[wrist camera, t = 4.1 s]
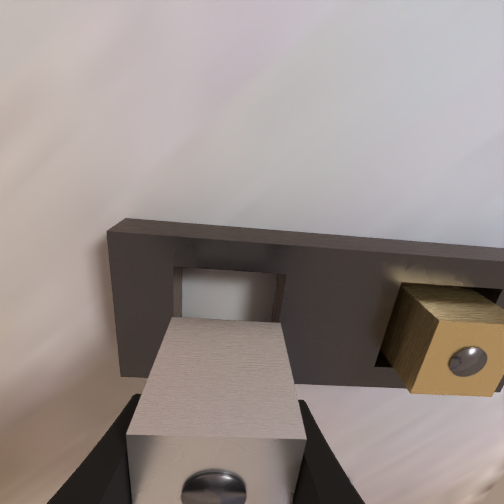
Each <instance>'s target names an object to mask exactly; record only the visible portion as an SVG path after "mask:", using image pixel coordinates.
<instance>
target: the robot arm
mask: <svg viewBox="0 0 504 504" xmlns="http://www.w3.org/2000/svg"><path fill="white" fill-rule="evenodd" d="M141 395H142V394H135V395H134V396H132V398H131V399H130V401H129V402H128V404H127V405H126V407H125V408H124V409H123V411H122V412H121V414H120V415H119V416H118V418H117V419H116V420H115V422H114V423H113V424H112V426H111V427H110V428H109V430H108V431H107V432H106V434H105V435H104V436H103V437H102V439H101V440H100V441H99V442H98V444H97V445H96V446H95V447H94V449H93V450H92V451H91V452H90V454H89V455H88V456H87V457H86V459H85V460H84V461H83V462H82V463H81V465H80V466H79V467H78V468H77V469H76V471H75V472H74V473H73V474H72V475H71V476H70V477H69V479H68V480H67V481H66V482H65V483H64V484H63V486H62V487H61V488H60V489H59V490H58V491H57V493H56V494H55V495H54V496H53V497H52V498H51V499H50V500H49V501H48V503H47V504H132V495H131V484H130V473H129V462H128V452H127V441H126V433H127V430H128V428H129V425H130V423H131V420H132V418H133V415H134V413H135V410H136V407H137V405H138V402H139V400H140V397H141ZM298 402H299V407H300V411H301V416H302V420H303V425H304V429H305V433H306V438H307V441H306V445H305V449H304V454H303V458H302V462H301V466H300V471H299V475H298V479H297V483H296V488H295V492H294V496H293V500H292V504H365V503H364V501H363V500H362V498H361V497H360V495H359V494H358V492H357V491H356V489H355V488H354V486H353V484H352V482H351V481H350V480H349V478H348V477H347V475H346V474H345V472H344V470H343V469H342V467H341V465H340V464H339V462H338V460H337V459H336V457H335V455H334V454H333V452H332V450H331V449H330V447H329V445H328V444H327V442H326V440H325V438H324V436H323V435H322V433H321V431H320V429H319V427H318V425H317V424H316V422H315V420H314V418H313V416H312V414H311V412H310V410H309V408H308V406H307V404H306V402H305V401H304V400H298Z"/></svg>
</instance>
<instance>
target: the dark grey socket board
mask: <svg viewBox="0 0 504 504" xmlns="http://www.w3.org/2000/svg"><path fill="white" fill-rule="evenodd" d="M107 240H108V251H109V261H110V271H111V282H112V292H113V302H114V313H115V323H116V333H117V343H118V354H119V364H120V374H121V377H142V378H148V377H149V374H150V372H151V369H152V367H153V364H154V362H155V359H156V357H157V354H158V351H159V349H160V346H161V344H162V341H163V339H164V336H165V334H166V331H167V329H168V326H169V323H170V321H171V318H172V317H182V267H190V268H205V269H219V270H234V271H248V272H263V273H277V274H278V278H277V285H276V292H275V299H274V306H273V313H272V320H271V322H272V323H281V327H282V332H283V336H284V340H285V345H286V349H287V354H288V358H289V363H290V367H291V371H292V376H293V380H294V384H312V385H337V386H361V387H385V388H406V386H405V385H404V383H403V382H402V380H401V379H400V377H399V376H398V374H397V373H396V371H395V370H394V368H393V367H392V365H391V364H390V362H389V361H388V359H387V358H386V356H385V355H384V353H383V352H382V350H381V349H380V347H381V344H382V341H383V338H384V335H385V332H386V328H387V325H388V322H389V319H390V316H391V313H392V310H393V307H394V304H395V300H396V297H397V294H398V291H399V288H400V285H401V282H408V283H422V284H437V285H451V286H466V287H470V288H471V289H473V290H474V291H476V292H477V293H479V294H480V295H482V296H484V297H485V298H487V299H488V300H490V301H491V302H493V303H495V304H496V305H498V306H499V307H501V308H502V309H504V248H492V247H480V246H467V245H454V244H442V243H429V242H417V241H404V240H392V239H379V238H367V237H354V236H342V235H329V234H317V233H304V232H292V231H279V230H267V229H254V228H242V227H229V226H217V225H204V224H191V223H179V222H166V221H154V220H141V219H129V218H125V219H124V220H122V221H121V222H119V223H118V224H116V225H115V226H113V227H112V228H110V229H109V230H108V231H107ZM503 386H504V375H503V377H502V379H501V380H500V382H499V384H498V386H497V388H496V390H495V391H494V392H500V391H501V389H502V387H503Z"/></svg>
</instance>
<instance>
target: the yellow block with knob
mask: <svg viewBox="0 0 504 504" xmlns="http://www.w3.org/2000/svg"><path fill="white" fill-rule="evenodd" d="M380 349H381V350H382V352H383V353H384V355H385V356H386V358H387V359H388V361H389V362H390V364H391V365H392V367H393V368H394V370H395V371H396V373H397V374H398V376H399V377H400V379H401V380H402V382H403V383H404V385H405V386H406V388H407V389H408V391H409V392H410V394H435V395H460V396H485V397H492V395H493V393H494V391H495V390H496V388H497V386H498V384H499V382H500V380H501V379H502V377H503V375H504V309H502V308H501V307H499V306H498V305H496V304H495V303H493V302H491V301H490V300H488V299H487V298H485V297H484V296H482V295H480V294H479V293H477V292H476V291H474V290H473V289H471V288H470V287H466V286H451V285H437V284H422V283H408V282H401V285H400V288H399V291H398V294H397V297H396V300H395V304H394V307H393V310H392V313H391V316H390V319H389V322H388V325H387V328H386V332H385V335H384V338H383V341H382V344H381V347H380Z"/></svg>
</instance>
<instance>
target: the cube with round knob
mask: <svg viewBox="0 0 504 504" xmlns="http://www.w3.org/2000/svg"><path fill="white" fill-rule="evenodd" d="M126 441H127V452H128V462H129V473H130V484H131V495H132V504H292V500H293V496H294V492H295V488H296V483H297V479H298V475H299V471H300V466H301V462H302V458H303V454H304V449H305V445H306V441H307V438H306V433H305V429H304V425H303V420H302V416H301V411H300V407H299V402H298V398H297V394H296V389H295V385H294V380H293V376H292V371H291V367H290V363H289V358H288V354H287V349H286V345H285V340H284V336H283V332H282V327H281V323H272V322H255V321H237V320H219V319H201V318H183V317H172V318H171V321H170V323H169V326H168V329H167V331H166V334H165V336H164V339H163V341H162V344H161V346H160V349H159V351H158V354H157V357H156V359H155V362H154V364H153V367H152V369H151V372H150V374H149V377H148V379H147V382H146V385H145V387H144V390H143V392H142V395H141V397H140V400H139V402H138V405H137V407H136V410H135V413H134V415H133V418H132V420H131V423H130V425H129V428H128V430H127V433H126Z"/></svg>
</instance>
